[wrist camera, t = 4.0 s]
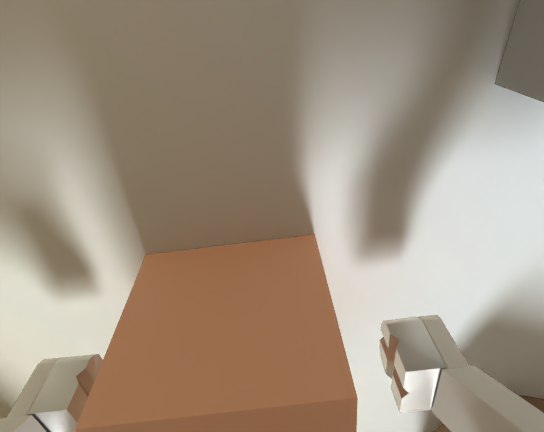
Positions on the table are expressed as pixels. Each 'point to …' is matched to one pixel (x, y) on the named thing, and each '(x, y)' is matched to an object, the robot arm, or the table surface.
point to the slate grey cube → (525, 52)
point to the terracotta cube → (226, 346)
